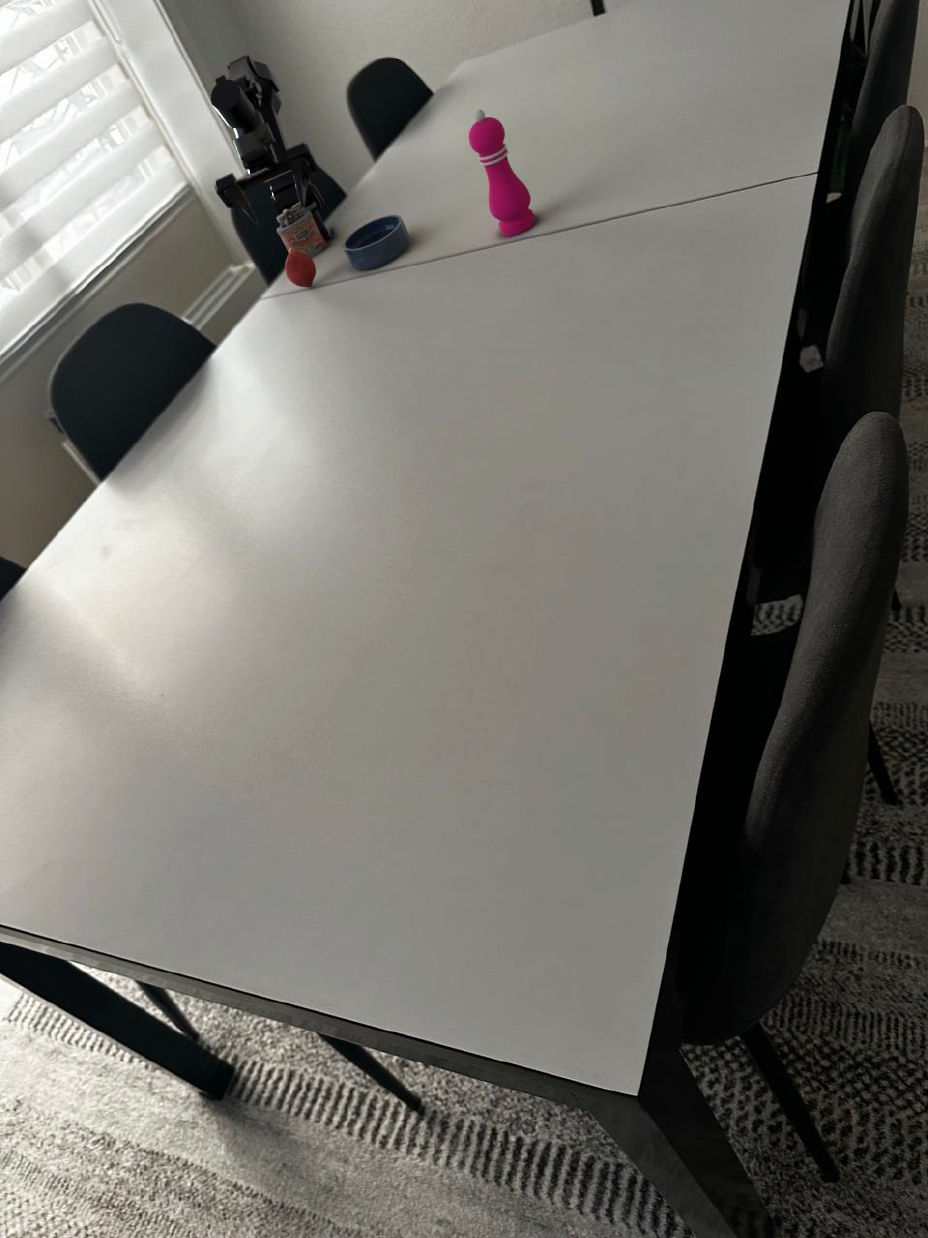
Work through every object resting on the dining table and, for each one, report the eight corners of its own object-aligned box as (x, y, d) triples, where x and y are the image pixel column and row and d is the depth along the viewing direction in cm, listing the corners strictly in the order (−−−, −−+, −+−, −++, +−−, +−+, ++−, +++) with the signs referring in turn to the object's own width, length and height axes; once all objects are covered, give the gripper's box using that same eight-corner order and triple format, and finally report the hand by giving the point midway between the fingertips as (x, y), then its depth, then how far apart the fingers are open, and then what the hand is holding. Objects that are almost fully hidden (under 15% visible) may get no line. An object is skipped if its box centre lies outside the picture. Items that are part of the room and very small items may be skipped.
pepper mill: (543, 212, 163) (504, 94, 150) (530, 233, 158) (489, 114, 145) (506, 220, 166) (466, 106, 153) (493, 241, 162) (450, 125, 149)
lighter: (296, 266, 192) (273, 221, 185) (291, 262, 194) (268, 217, 187) (329, 246, 193) (307, 200, 186) (323, 242, 195) (301, 196, 188)
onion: (319, 289, 178) (298, 251, 173) (293, 298, 180) (272, 260, 175) (326, 275, 182) (306, 237, 177) (301, 283, 184) (281, 246, 179)
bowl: (350, 256, 184) (340, 235, 181) (407, 229, 182) (398, 207, 179) (355, 279, 174) (345, 257, 171) (415, 251, 173) (405, 228, 170)
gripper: (190, 135, 165) (215, 212, 163) (286, 93, 163) (313, 170, 161) (215, 170, 176) (240, 243, 174) (305, 131, 174) (331, 204, 172)
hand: (279, 215), depth 170 cm, fingers open, 9 cm apart
